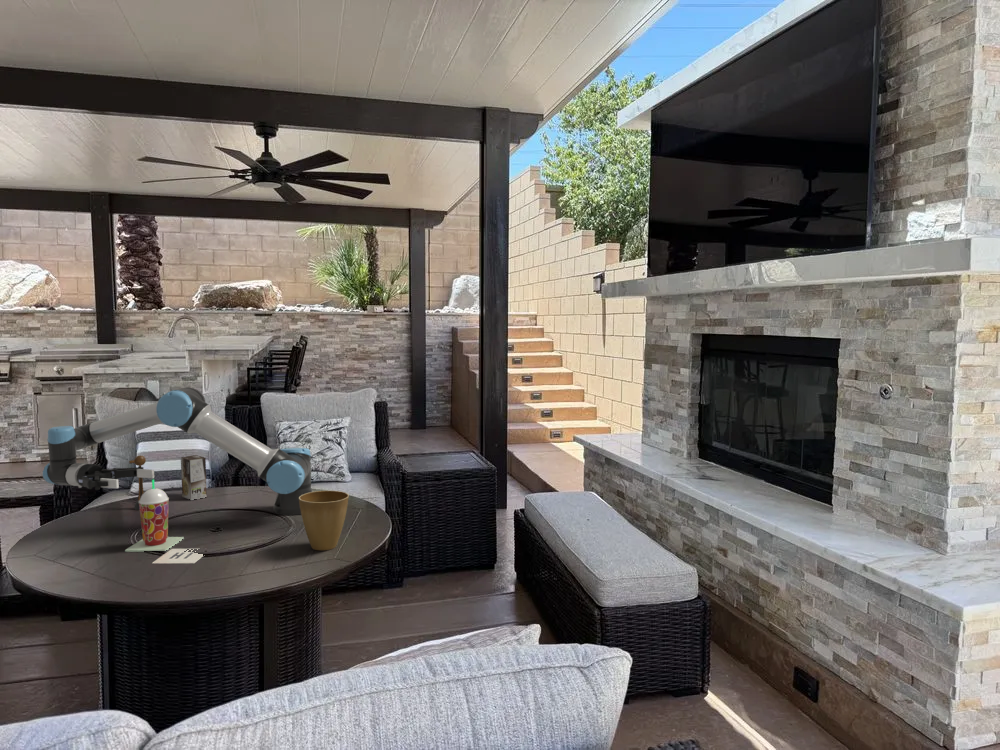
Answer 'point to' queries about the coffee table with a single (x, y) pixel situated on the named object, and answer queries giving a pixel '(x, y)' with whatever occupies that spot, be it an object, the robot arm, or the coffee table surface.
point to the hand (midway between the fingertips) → (136, 478)
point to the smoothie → (154, 516)
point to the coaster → (165, 546)
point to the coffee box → (193, 477)
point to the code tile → (178, 557)
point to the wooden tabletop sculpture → (139, 461)
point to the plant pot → (323, 517)
